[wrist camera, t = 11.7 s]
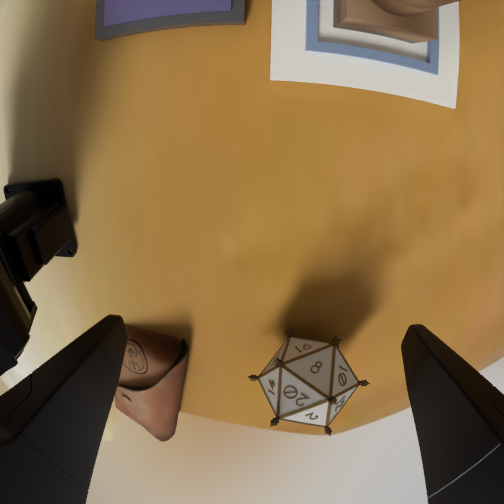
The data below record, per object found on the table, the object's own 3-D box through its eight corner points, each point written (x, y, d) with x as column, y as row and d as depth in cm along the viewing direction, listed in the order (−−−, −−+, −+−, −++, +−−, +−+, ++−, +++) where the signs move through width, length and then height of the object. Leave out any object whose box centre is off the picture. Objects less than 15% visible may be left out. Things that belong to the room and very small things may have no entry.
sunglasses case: (101, 316, 26) (115, 376, 22) (172, 308, 30) (197, 361, 25) (116, 409, 35) (130, 452, 31) (164, 400, 39) (182, 441, 34)
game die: (282, 325, 31) (212, 394, 24) (329, 284, 24) (247, 371, 18) (343, 386, 29) (285, 462, 23) (402, 360, 23) (344, 461, 16)
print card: (269, 80, 16) (270, 79, 15) (273, -83, 10) (273, -91, 9) (450, 107, 16) (459, 110, 15) (449, -43, 10) (457, -47, 9)
